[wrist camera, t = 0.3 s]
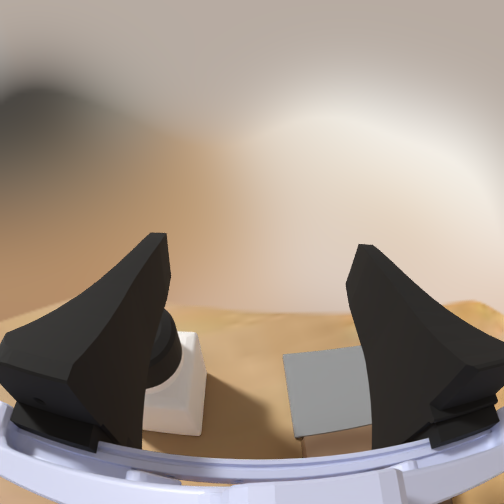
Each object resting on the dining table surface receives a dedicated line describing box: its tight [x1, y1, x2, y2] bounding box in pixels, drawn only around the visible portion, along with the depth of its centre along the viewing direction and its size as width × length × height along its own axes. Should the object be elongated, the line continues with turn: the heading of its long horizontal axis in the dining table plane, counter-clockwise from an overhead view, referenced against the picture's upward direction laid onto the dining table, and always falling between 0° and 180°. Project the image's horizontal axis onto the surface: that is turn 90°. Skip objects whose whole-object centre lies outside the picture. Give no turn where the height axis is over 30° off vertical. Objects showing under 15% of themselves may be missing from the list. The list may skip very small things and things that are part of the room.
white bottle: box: [142, 309, 207, 436], centre depth 23 cm, size 7×7×12 cm
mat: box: [283, 346, 372, 438], centre depth 28 cm, size 9×9×1 cm
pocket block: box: [301, 425, 453, 504], centre depth 19 cm, size 12×12×2 cm
